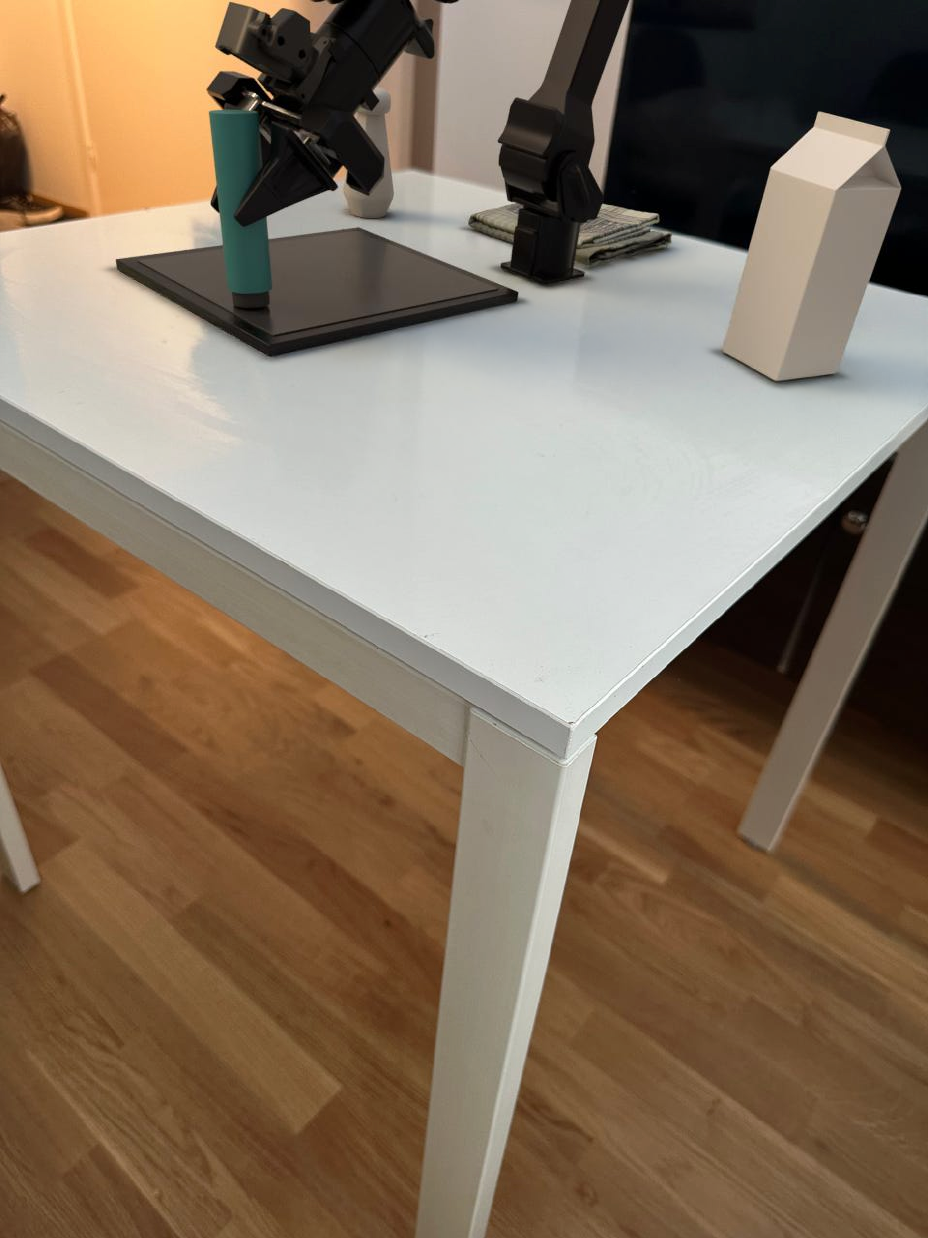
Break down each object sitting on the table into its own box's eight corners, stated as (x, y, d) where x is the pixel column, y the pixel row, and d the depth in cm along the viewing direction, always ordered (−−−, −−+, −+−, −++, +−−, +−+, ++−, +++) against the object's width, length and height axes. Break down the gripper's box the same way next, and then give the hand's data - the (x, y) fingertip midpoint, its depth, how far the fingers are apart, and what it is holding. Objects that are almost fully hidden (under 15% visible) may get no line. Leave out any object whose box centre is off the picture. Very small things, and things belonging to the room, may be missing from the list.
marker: (279, 299, 78) (264, 110, 70) (265, 310, 75) (248, 113, 67) (238, 297, 78) (219, 108, 71) (222, 307, 75) (201, 111, 68)
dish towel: (461, 228, 107) (464, 198, 105) (554, 211, 119) (558, 184, 117) (591, 271, 98) (596, 240, 96) (678, 248, 109) (684, 219, 108)
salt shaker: (401, 214, 110) (407, 89, 102) (377, 222, 105) (382, 93, 98) (358, 204, 111) (361, 81, 104) (333, 212, 107) (335, 84, 99)
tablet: (358, 235, 100) (358, 225, 100) (517, 301, 88) (519, 290, 87) (116, 268, 84) (115, 257, 83) (269, 356, 71) (269, 343, 70)
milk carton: (775, 383, 77) (855, 128, 65) (720, 352, 82) (785, 110, 70) (836, 375, 80) (922, 130, 68) (779, 345, 85) (851, 112, 73)
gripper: (223, -52, 71) (98, 111, 71) (354, -29, 60) (206, 164, 60) (312, 69, 80) (201, 213, 80) (442, 109, 68) (311, 276, 69)
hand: (226, 215), depth 72 cm, fingers closed on marker, 4 cm apart
